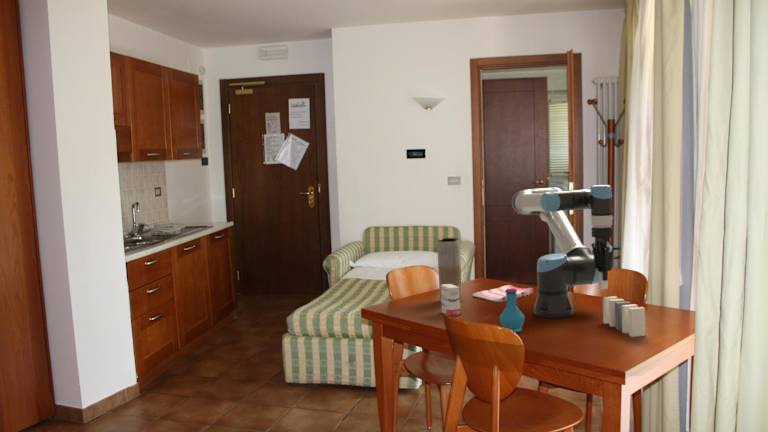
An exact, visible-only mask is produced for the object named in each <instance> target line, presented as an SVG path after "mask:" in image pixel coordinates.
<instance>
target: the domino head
mask: <svg viewBox="0 0 768 432" xmlns="http://www.w3.org/2000/svg"><path fill="white" fill-rule="evenodd" d="M613 299H619V298H618V296H615V295H613V296H612V295H611V296H603V297H602V322H603V324H604V325H605V324H606V325H607V324H609V300H613Z"/></svg>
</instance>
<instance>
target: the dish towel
mask: <svg viewBox="0 0 768 432" xmlns="http://www.w3.org/2000/svg"><path fill="white" fill-rule="evenodd" d="M511 288H512V289H516V290H517V292H516V293H517V294H516V299H519V298H522V296H524V297H527V296H526V295H528V296H531V295H530V294H532V295H533V293H534V288H532V287H528V288H527V287H526V288H525V287H524V288H521V287H515V286H513V285H511V284H506V285H503V286H501V287H497V288H491V289H489V290H480V291H478V292H473V294H472V296H473V297H474V298H477V299H481V300H485V301H489V302H493V303H499V302H500V303H503V302H507V298H506V292H505V290H506V289H511ZM518 297H519V298H518Z"/></svg>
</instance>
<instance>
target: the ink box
mask: <svg viewBox="0 0 768 432" xmlns="http://www.w3.org/2000/svg"><path fill="white" fill-rule="evenodd" d="M440 303H441V313H443V314H445V315H447V316H449V315H450V316H449V317H457V316H461V315H462V314H461V302H460V293H459V287H457V286H455V285H452V284H443V285H441V302H440Z"/></svg>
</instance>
